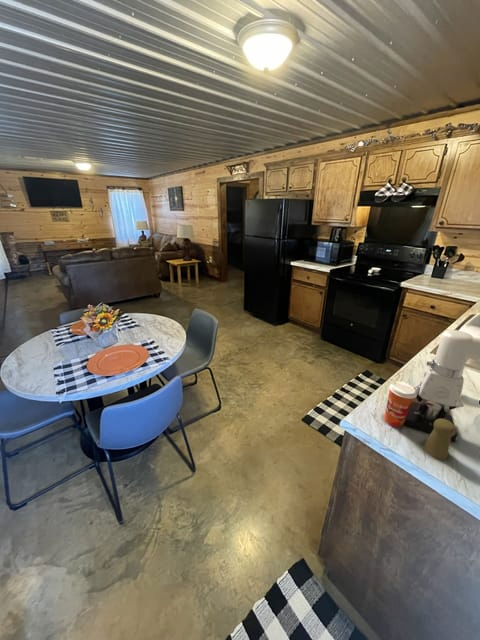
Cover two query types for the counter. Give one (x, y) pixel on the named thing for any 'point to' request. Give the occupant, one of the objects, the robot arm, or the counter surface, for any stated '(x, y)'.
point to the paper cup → (399, 403)
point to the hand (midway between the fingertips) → (429, 414)
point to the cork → (440, 439)
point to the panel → (423, 422)
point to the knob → (431, 411)
